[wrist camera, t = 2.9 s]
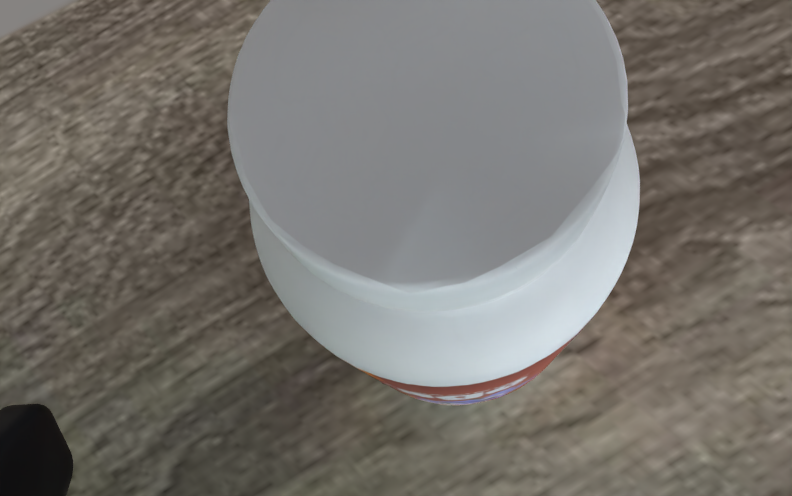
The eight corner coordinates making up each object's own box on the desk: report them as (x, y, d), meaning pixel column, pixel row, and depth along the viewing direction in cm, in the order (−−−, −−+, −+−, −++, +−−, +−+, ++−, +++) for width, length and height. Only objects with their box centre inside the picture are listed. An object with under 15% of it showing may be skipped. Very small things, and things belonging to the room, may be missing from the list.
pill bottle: (308, 361, 19) (71, 259, 8) (386, 153, 20) (271, -173, 9) (536, 443, 17) (615, 452, 7) (604, 216, 19) (760, -77, 8)
